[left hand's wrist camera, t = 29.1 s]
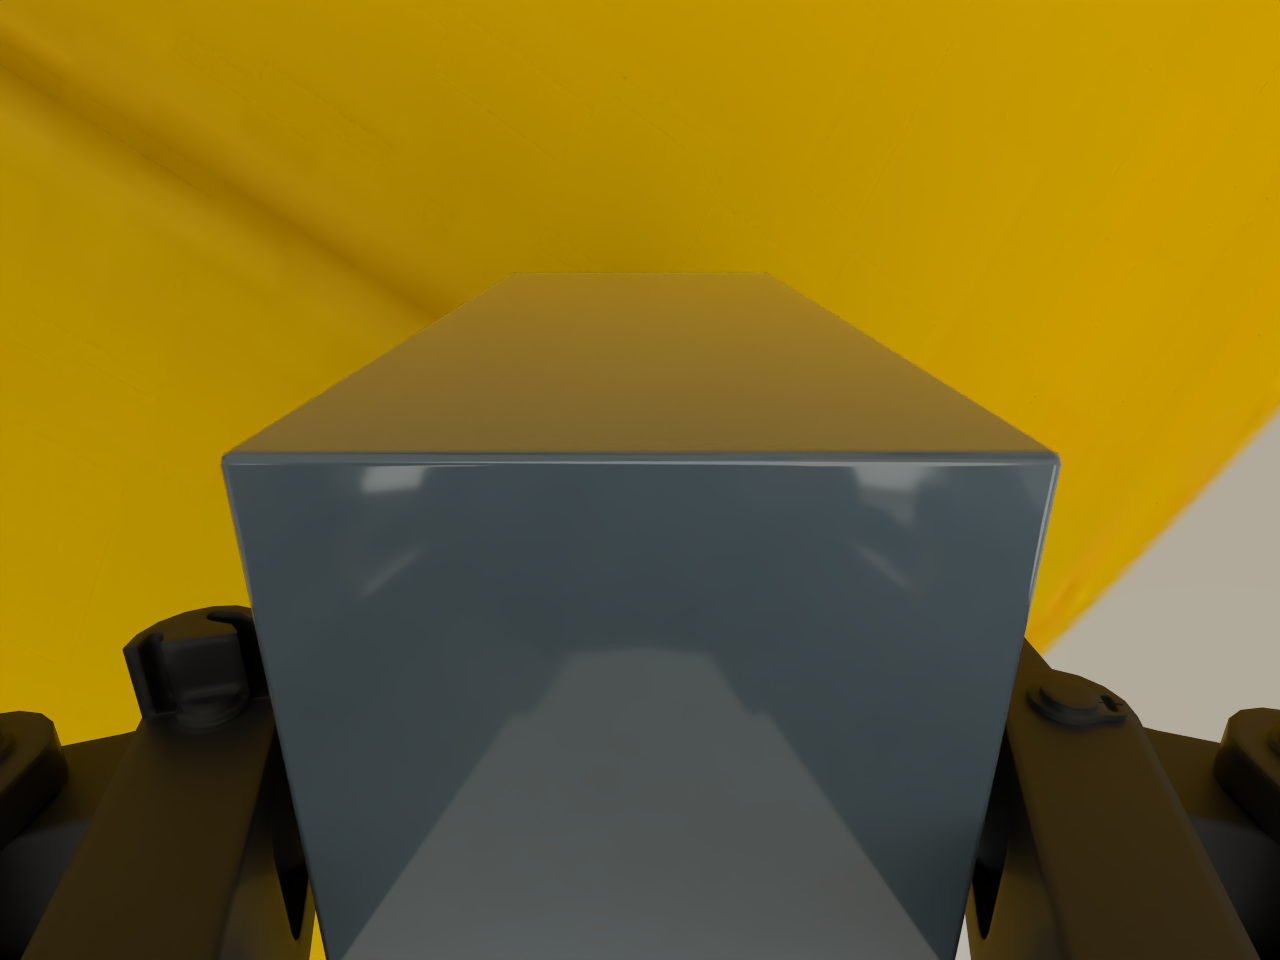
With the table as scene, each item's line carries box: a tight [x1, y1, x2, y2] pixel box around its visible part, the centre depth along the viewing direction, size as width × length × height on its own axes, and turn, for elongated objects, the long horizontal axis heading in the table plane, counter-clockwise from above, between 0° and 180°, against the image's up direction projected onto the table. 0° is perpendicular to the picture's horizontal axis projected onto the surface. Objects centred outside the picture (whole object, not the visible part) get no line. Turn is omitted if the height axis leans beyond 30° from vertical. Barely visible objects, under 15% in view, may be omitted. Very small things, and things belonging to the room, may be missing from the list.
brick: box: [221, 273, 1061, 960], centre depth 12 cm, size 6×9×12 cm, turn 0°
